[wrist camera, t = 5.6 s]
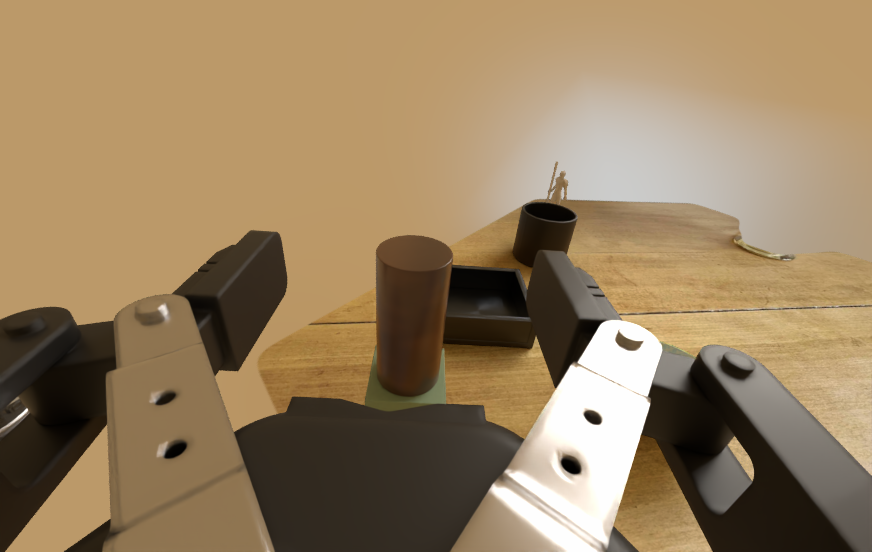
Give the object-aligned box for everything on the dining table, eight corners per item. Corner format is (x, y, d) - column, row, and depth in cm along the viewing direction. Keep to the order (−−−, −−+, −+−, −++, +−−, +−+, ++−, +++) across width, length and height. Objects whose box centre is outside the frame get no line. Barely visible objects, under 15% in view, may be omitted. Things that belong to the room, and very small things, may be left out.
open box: (433, 342, 46) (436, 315, 44) (433, 287, 57) (435, 263, 55) (532, 348, 47) (539, 322, 45) (513, 292, 58) (519, 269, 55)
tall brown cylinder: (372, 395, 28) (370, 268, 22) (380, 348, 32) (380, 232, 26) (439, 398, 28) (454, 274, 22) (438, 352, 32) (451, 237, 26)
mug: (547, 240, 75) (558, 197, 71) (572, 270, 65) (587, 223, 60) (502, 239, 74) (511, 195, 69) (521, 270, 64) (532, 221, 59)
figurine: (536, 212, 88) (548, 162, 82) (549, 209, 91) (562, 159, 85) (554, 220, 85) (568, 168, 78) (567, 216, 88) (582, 165, 81)
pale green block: (366, 470, 32) (364, 400, 27) (376, 412, 37) (375, 344, 32) (436, 473, 32) (446, 404, 27) (436, 415, 37) (444, 348, 32)
